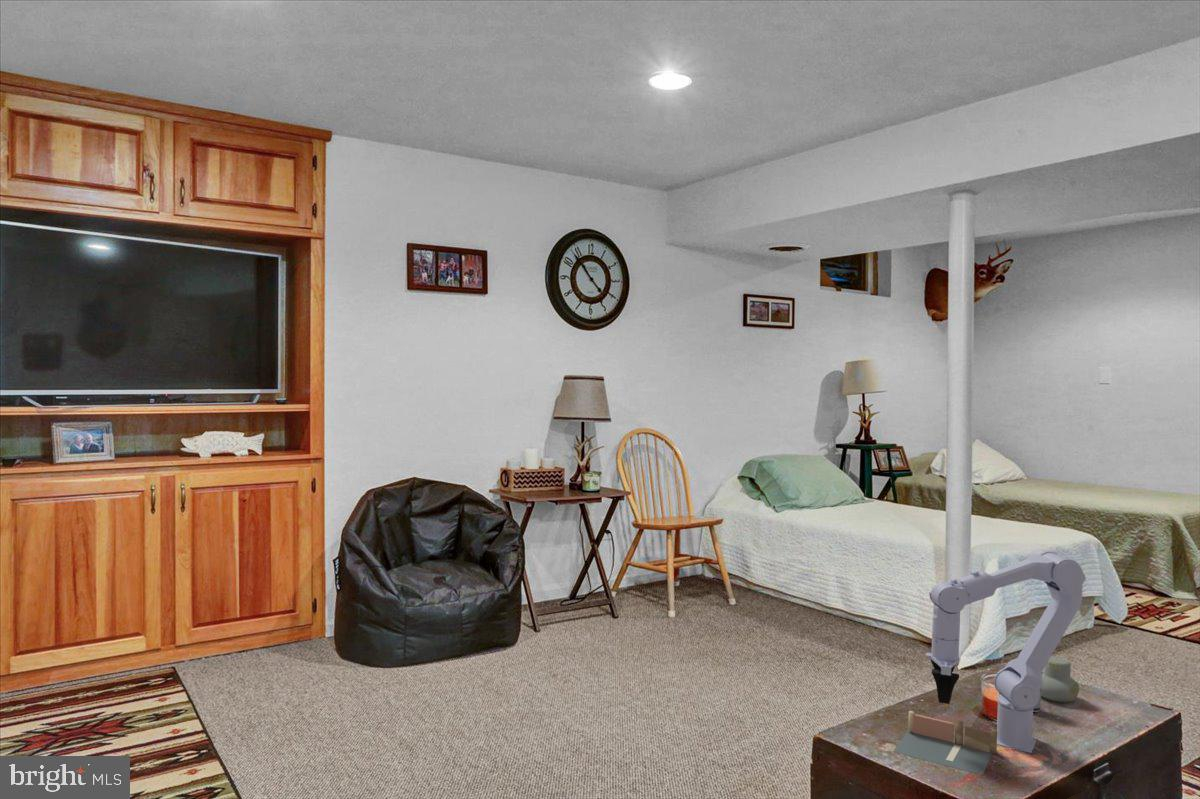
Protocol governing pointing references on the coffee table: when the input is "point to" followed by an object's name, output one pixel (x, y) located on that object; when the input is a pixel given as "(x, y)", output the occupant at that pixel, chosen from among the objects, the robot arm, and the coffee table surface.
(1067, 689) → the grey l-shaped piece
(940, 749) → the card
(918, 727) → the fence panel
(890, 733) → the coffee table surface
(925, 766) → the coffee table surface
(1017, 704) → the robot arm
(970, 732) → the fence frame
